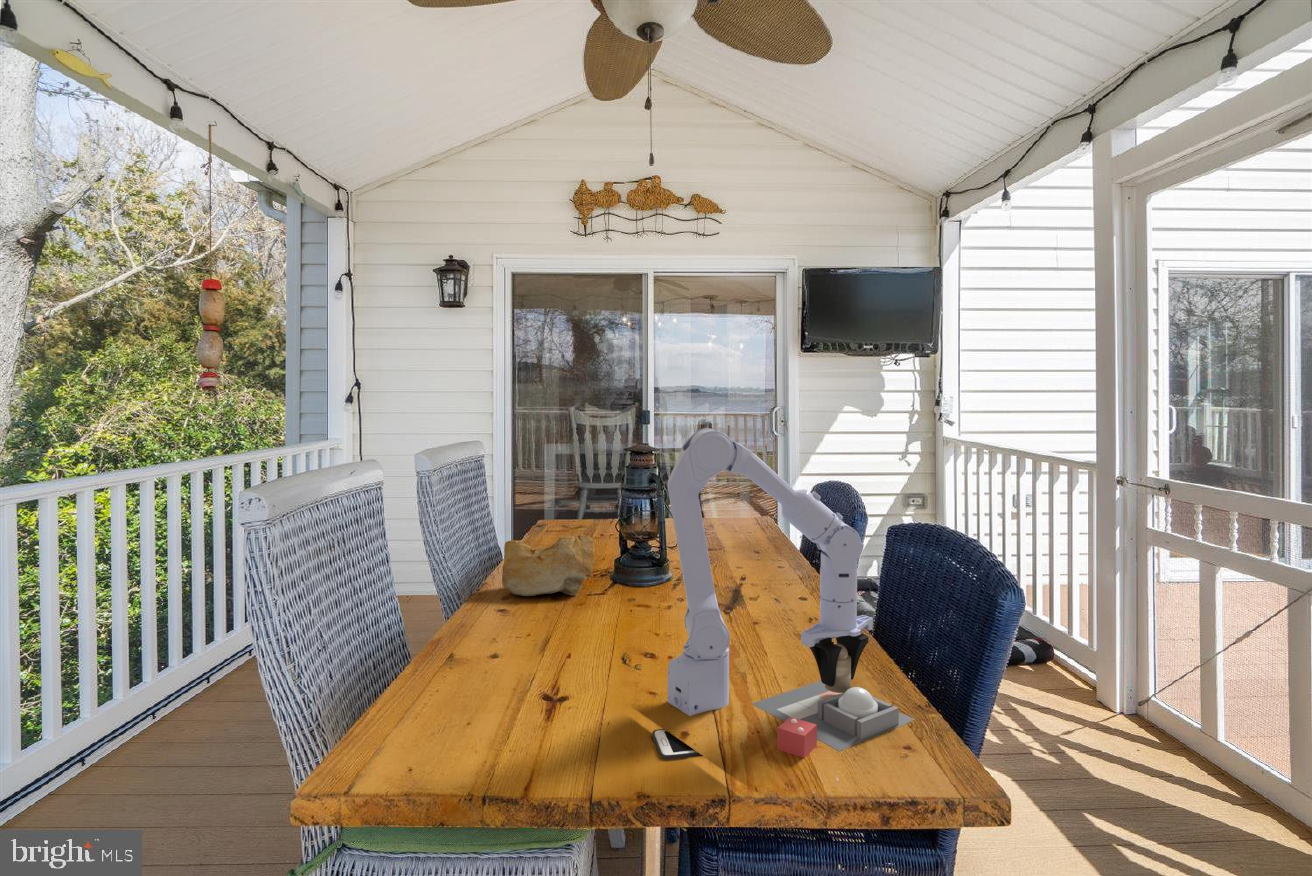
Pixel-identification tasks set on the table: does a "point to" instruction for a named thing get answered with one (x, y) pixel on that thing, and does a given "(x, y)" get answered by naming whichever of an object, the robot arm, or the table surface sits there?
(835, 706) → the game board
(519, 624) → the table surface
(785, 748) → the red die
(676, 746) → the cell phone
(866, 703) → the dome
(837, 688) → the pawn
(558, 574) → the rough brown rock
